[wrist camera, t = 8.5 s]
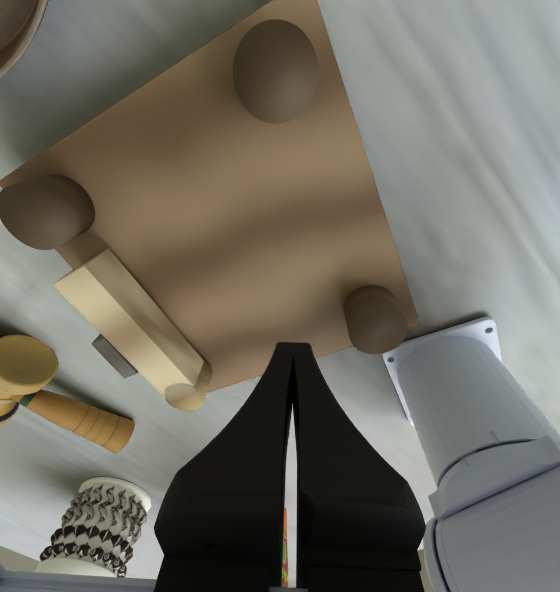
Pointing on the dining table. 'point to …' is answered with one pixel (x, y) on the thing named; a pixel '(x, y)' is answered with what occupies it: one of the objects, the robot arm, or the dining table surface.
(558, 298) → the dining table surface
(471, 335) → the robot arm
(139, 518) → the decorative candle
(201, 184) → the stool seat
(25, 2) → the plant saucer
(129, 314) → the hinged leg
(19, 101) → the dining table surface
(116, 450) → the kendama
